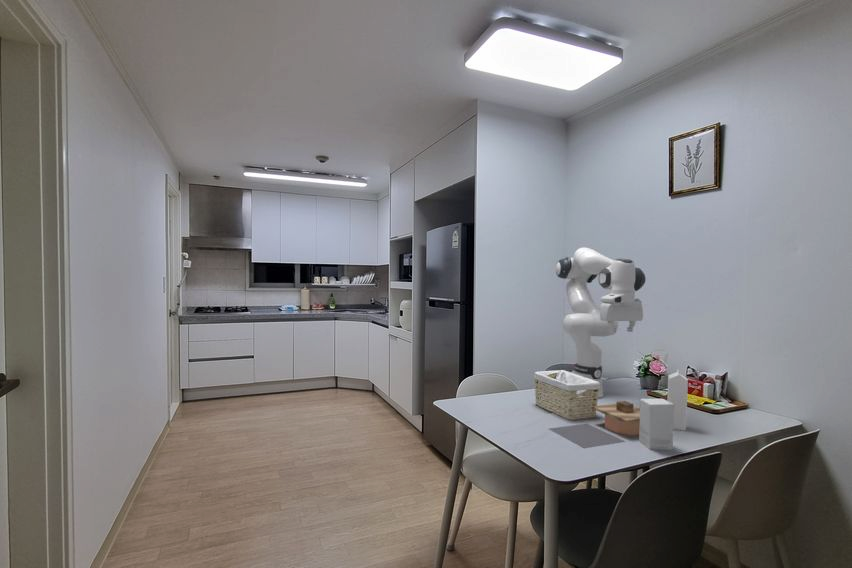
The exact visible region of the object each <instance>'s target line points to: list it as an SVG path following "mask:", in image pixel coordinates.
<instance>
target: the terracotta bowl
mask: <svg viewBox="0 0 852 568" xmlns="http://www.w3.org/2000/svg"><path fill="white" fill-rule="evenodd" d="M604 428H605V429H608V430H609V431H612V432H614V433H616V434H622V435H629V436H637V435H639V428H640V421H637V422H630V423H625V422H622V421H620V420H617V419H615V418H613V417H610V416H608V415H605V414H604Z"/></svg>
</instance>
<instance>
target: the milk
mask: <svg viewBox="0 0 852 568" xmlns="http://www.w3.org/2000/svg"><path fill="white" fill-rule="evenodd" d="M676 369H677V370H676V372H673V373H671V374H669V375H667V376H668V377H667V399H666V401H668V402H671V403H673V404H674V414H673V430H679V431H684V432H685V431H686V430H687V416H688V415H687V411H688V389H689V388H688V387H689V386H688V385H689V379H688V378H687V377H686V376H684V374H683V375H682V374H681V373H680V369H679V368H676Z"/></svg>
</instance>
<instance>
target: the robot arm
mask: <svg viewBox="0 0 852 568" xmlns="http://www.w3.org/2000/svg"><path fill="white" fill-rule="evenodd" d="M555 273H556V275H557V277H558V278H559V279H563V280H566V279H567V280H569V281H567V282H566V285H565V292H566V297H567V300H568V303H569V305H570V308H571V311H572V312H573V313H570V314H566V316H564V318H563V322H562V326H563V330H564V332H565V333H566V334H567V335H568V336H569V337H571V339H572V340H573V343H574V344H575V347H576V363H573V364H572V366H573V367H574V368H573V370H572V371H571V372H570V373H573V374H576V375H579V376H582V377H585V378H589V379H592V380H594V381H598V382H599V383H600V389H599V394H598V399H599V398H603V397H604V396H605V395H604V393H605V392H604V389H603V377H602V374H603V366H602V355H603V353H602V349H601V348H600V346H598V345H597V344H596V343H593V342H592V340H591V337H609V336H613V335H615V334H616V333H617V331H618V328H619V323H618V322H628V323H629V325H628V326H626V329H627V330H626V331H627V332H629V333H632V332H634V328H635V325H636V323H637V322H642V320H643V319H644V311H643V304H642V300H640V298H635V297H636V296H635V294H636V292H637V291H639V290H640V289H641V288H643V287H644V286H645V283H646V279H647V278H646V275H645V272H644V271H643V270H642V269H641V268H640V267H636V266H635V261H634V260H632V259H628V258H616V259H611V258H609V257H607V256H606V255H603V254H602V253H599V252H598V251H597V250H594V249H592V248H589V247H585V246H584V247H579V248H578V249H577V250H575V252H574V254H573V257H569V256H566V257H564V258H560V259H559V260H558V261H557V262H556V264H555ZM597 277H598V283H599V285H600V287H601V288H602V289H606V290H610V292H611V293H609V294H606V295H603V296H601V298H600V302H601V304H600V307H599V306H598V305H597V304H596V302H595V301H594V298H593V297H592V295H591V293H590V291H589V288H588V286H587V284H591V283H592V282H593V280H595V279H596V278H597Z"/></svg>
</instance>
